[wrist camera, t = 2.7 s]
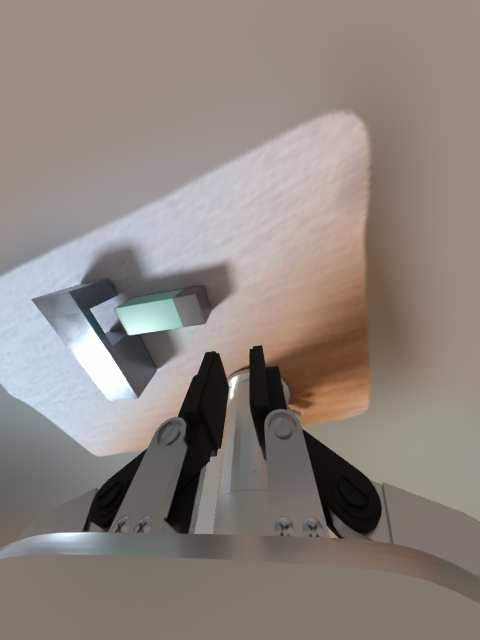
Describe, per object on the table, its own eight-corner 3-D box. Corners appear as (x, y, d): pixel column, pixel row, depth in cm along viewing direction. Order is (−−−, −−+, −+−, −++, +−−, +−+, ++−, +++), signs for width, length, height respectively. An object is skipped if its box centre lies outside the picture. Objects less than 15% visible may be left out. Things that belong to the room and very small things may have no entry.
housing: (108, 278, 24) (68, 291, 19) (157, 370, 32) (138, 398, 26) (78, 284, 25) (31, 299, 20) (132, 373, 32) (109, 401, 27)
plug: (203, 285, 24) (195, 294, 20) (211, 311, 26) (205, 323, 22) (131, 298, 26) (112, 309, 22) (143, 321, 27) (127, 335, 24)
